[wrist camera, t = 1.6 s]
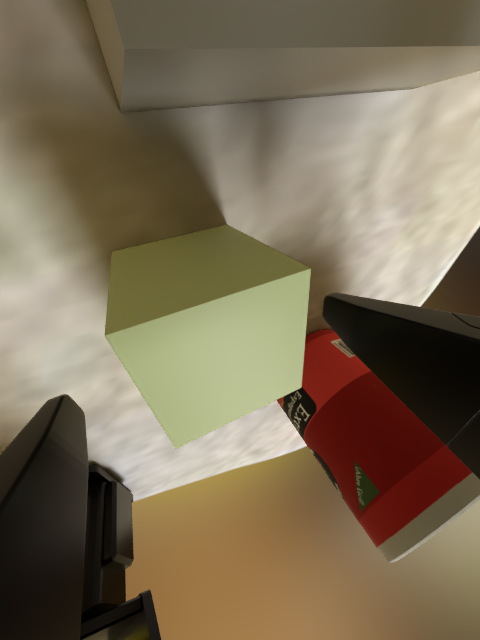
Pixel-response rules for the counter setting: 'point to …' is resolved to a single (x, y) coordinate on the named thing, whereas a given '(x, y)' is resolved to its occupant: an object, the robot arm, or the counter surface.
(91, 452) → the counter surface
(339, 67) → the grey bin
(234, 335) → the green block
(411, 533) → the canned food
